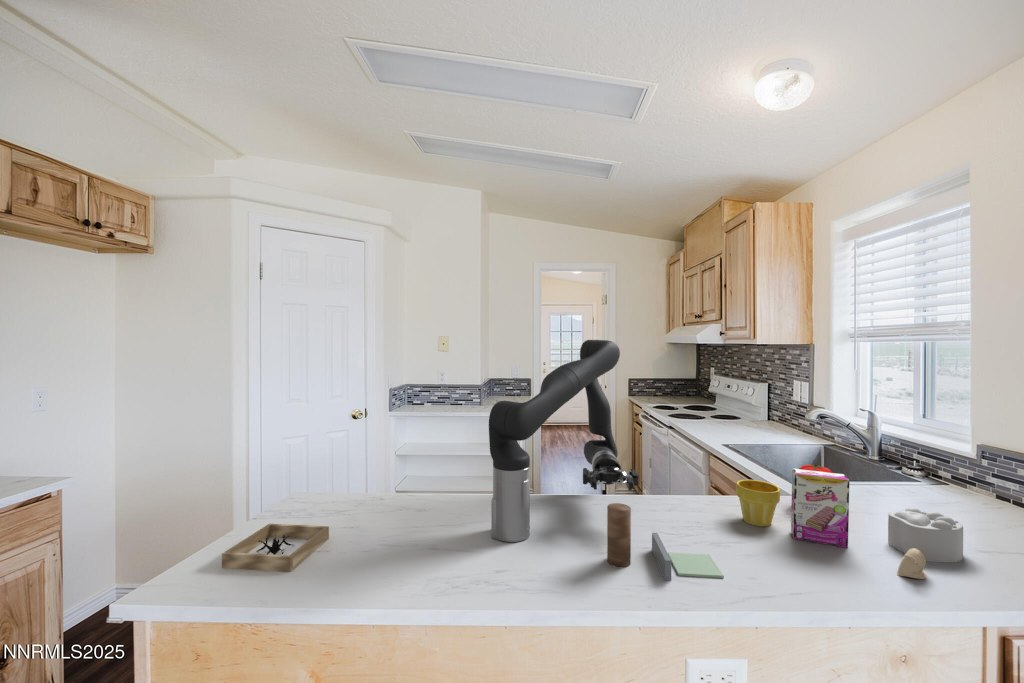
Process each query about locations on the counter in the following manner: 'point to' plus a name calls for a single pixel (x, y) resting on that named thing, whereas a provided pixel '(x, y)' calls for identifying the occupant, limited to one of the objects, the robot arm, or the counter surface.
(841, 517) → the candy bar box
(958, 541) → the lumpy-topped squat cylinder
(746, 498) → the plant pot
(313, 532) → the wooden frame
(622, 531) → the walnut canister
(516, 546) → the counter surface
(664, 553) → the low wall
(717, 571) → the pad
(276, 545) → the creature
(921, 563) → the decorative ornament
